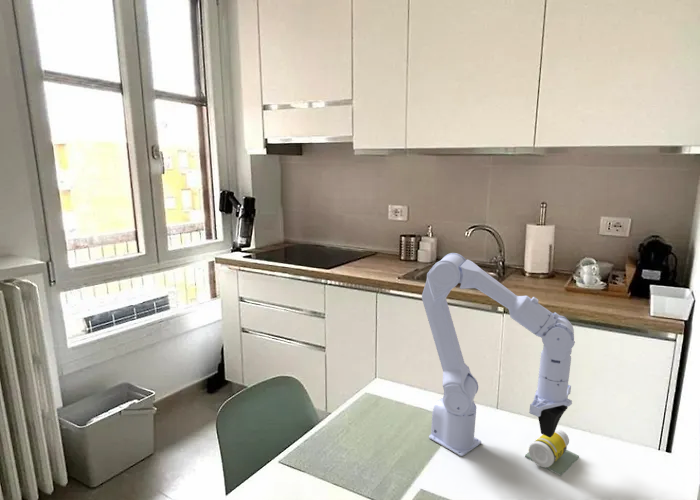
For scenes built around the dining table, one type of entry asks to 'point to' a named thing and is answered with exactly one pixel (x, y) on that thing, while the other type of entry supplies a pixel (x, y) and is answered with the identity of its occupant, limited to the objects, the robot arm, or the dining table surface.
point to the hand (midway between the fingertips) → (547, 434)
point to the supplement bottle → (548, 448)
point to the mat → (561, 462)
